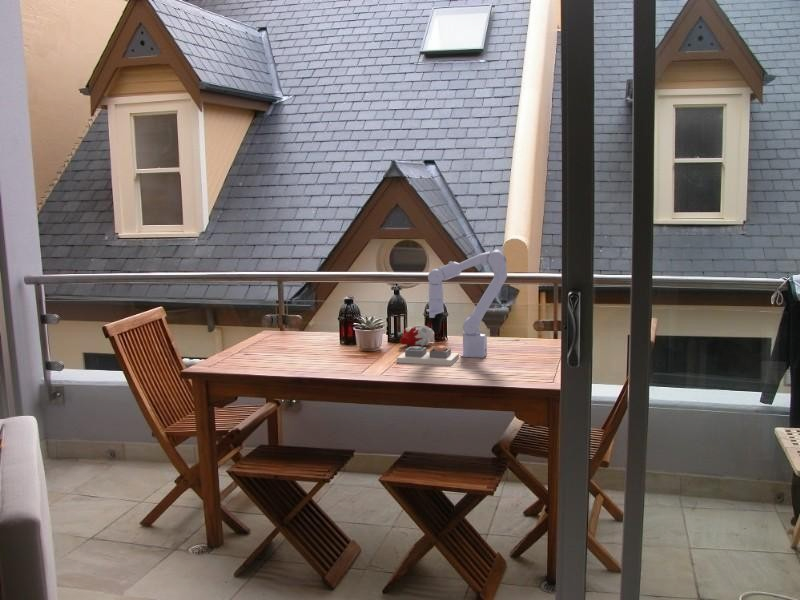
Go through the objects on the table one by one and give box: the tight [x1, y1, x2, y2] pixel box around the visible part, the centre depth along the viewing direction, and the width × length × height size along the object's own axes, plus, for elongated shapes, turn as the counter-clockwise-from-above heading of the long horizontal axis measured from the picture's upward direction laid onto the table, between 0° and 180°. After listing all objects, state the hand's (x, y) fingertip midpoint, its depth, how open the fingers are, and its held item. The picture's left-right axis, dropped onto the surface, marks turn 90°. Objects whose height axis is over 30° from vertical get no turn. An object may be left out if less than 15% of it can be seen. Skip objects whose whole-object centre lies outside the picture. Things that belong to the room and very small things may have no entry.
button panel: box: [396, 346, 460, 366], centre depth 315 cm, size 22×12×4 cm, turn 72°
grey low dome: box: [409, 345, 423, 351], centre depth 316 cm, size 5×5×2 cm
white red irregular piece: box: [399, 324, 434, 347], centre depth 341 cm, size 9×11×15 cm
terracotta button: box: [433, 345, 447, 352], centre depth 313 cm, size 5×5×2 cm
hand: (436, 332), depth 322 cm, fingers closed
